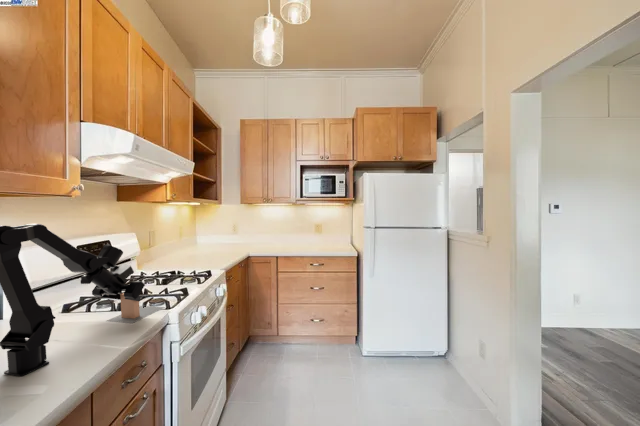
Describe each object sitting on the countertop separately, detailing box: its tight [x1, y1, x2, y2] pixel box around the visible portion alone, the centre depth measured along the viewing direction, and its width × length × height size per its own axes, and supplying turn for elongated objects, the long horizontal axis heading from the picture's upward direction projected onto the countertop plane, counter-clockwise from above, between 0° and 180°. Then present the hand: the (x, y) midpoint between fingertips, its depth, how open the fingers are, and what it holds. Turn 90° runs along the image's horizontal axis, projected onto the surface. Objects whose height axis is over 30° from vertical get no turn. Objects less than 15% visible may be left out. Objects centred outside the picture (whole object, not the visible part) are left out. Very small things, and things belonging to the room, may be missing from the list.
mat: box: [106, 305, 166, 324], centre depth 114 cm, size 16×12×1 cm
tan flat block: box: [120, 292, 140, 318], centre depth 111 cm, size 2×6×9 cm, turn 77°
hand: (132, 299), depth 112 cm, fingers closed on tan flat block, 6 cm apart
